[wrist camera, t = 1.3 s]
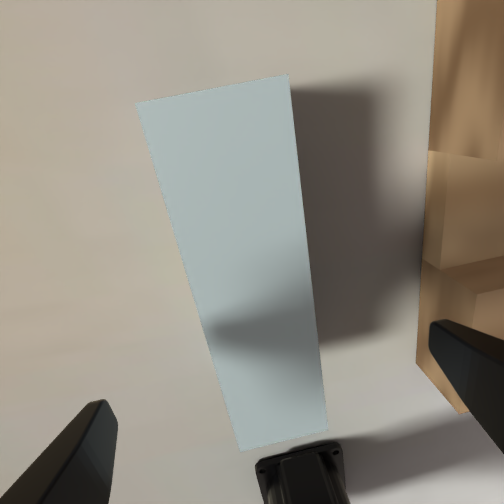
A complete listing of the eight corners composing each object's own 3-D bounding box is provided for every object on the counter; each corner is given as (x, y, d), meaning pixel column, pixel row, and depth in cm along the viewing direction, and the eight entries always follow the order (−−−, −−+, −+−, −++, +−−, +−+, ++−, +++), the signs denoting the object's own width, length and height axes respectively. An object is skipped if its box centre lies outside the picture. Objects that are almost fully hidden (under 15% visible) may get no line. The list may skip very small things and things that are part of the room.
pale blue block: (293, 341, 19) (328, 429, 14) (230, 356, 19) (240, 452, 14) (255, 90, 14) (288, 73, 8) (163, 108, 13) (134, 103, 8)
